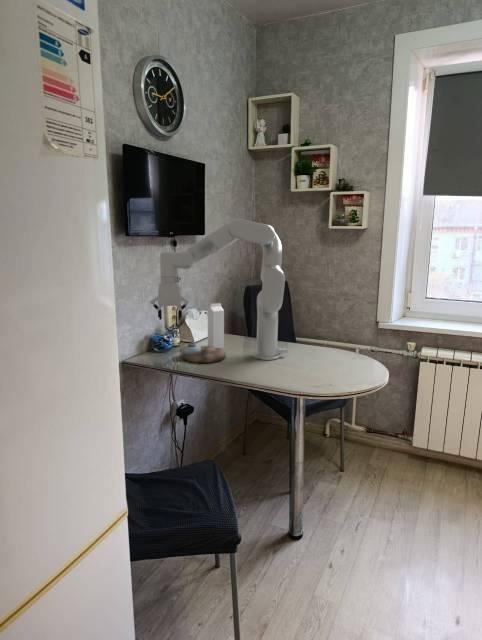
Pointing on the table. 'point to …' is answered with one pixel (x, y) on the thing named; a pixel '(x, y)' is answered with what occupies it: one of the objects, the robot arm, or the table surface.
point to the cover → (191, 349)
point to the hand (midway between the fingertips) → (170, 318)
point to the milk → (216, 326)
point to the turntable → (206, 355)
